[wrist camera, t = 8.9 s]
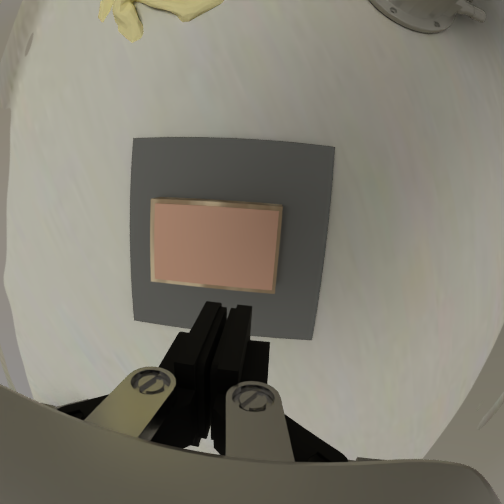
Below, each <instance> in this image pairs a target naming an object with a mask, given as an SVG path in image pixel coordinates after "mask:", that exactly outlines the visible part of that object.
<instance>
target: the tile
mask: <svg viewBox="0 0 504 504" xmlns="http://www.w3.org/2000/svg"><path fill="white" fill-rule="evenodd" d="M282 210H283V206H282V204H270V203H257V202H244V201H229V200H213V199H195V198H174V197H157V198H152V199H151V212H150V266H151V281H152V282H160V283H169V284H178V285H187V286H196V287H205V288H215V289H225V290H236V291H246V292H258V293H269V294H275V287H276V277H277V266H278V256H279V245H280V234H281V222H282Z"/></svg>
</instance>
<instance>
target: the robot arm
mask: <svg viewBox="0 0 504 504" xmlns="http://www.w3.org/2000/svg"><path fill="white" fill-rule="evenodd" d="M466 1H468V2H472V1H473V0H466ZM466 1H465V0H370V2H371V3H372V4H373V5H374V6H375V7H376V8H377V9H378V10H380V11H381V12H382V13H383V14H384V15H386V16H387V17H389V18H390V19H392V20H393V21H395V22H397V23H398V24H400V25H402V26H404V27H407V28H409V29H412V30H414V31H419V32H423V33H439V32H441V31H444V30H445V29H447V28H448V27H449V26H450V25H451V24H452V23H453V22H454V19H455V14H456V13H457V14H460V15H463V14H466V15H468V16H469V17H470V18H472V19H474V20H476V21H478V22H481V23H483V22H484V21H485V19H486V13H485V12H484V11H483V10H481V9H479V8H477V7H476V6H474V5H470V4H468V3H466ZM251 319H252V306H248V305H238V304H237V307H236V308H231V309H230V312H229V315H228V318H227V307H222V303H219V302H210V301H206V303H205V304H204V306H203V308H202V310H201V312H200V314H199V315H198V317H197V319H196V321H195V323H194V325H193V327H192V328H191V330H190V332H189V333H186V332H179V333H178V335H177V337H176V338H175V340H174V342H173V343H172V345H171V347H170V348H169V350H168V352H167V354H166V355H165V357H164V359H163V360H162V362H161V364H160V365H159V367H143V368H139V369H137V370H134V371H133V372H132V373H130V374H129V375H128V376H127V377H126V378H125V379H124V380H123V381H122V382H121V383H120V384H119V385H118V386H117V387H116V388H115V389H114V390H113V391H112V392H111V393H110V394H109V395H105V396H101V397H97V398H93V399H89V400H85V401H81V402H77V403H73V404H69V405H65V406H62V407H60V408H58V409H56V407H55V406H53V405H48V404H43V403H39V402H37V401H35V400H33V399H31V398H28V397H26V396H24V395H22V394H20V393H18V392H16V391H14V390H11V389H9V388H7V387H5V386H3V385H1V384H0V504H501V502H500V500H499V498H498V497H497V495H496V493H495V492H494V490H493V489H492V487H491V486H490V484H489V483H488V481H487V480H486V479H485V478H484V477H483V476H482V475H481V474H480V473H479V472H478V471H477V470H475V469H473V468H471V467H469V466H466V465H463V464H460V463H455V462H448V461H441V460H427V459H395V460H380V459H369V458H360V457H357V459H356V461H354V460H347V458H346V457H345V456H344V455H343V454H342V453H341V452H339V451H338V450H336V449H335V448H333V447H332V446H330V445H329V444H327V443H326V442H324V441H323V440H321V439H320V438H318V437H317V436H315V435H314V434H312V433H311V432H309V431H308V430H306V429H305V428H303V427H302V426H301V425H299V424H298V423H296V422H295V421H293V420H292V419H291V418H289V417H288V416H286V415H285V414H284V410H283V406H282V401H281V397H280V395H279V393H278V391H277V390H276V389H274V388H273V387H272V386H270V385H268V384H267V379H268V364H269V348H270V342H263V341H252V340H250V332H251ZM210 425H211V440H214V448H215V449H216V450H217V451H218V452H219V454H220V455H217V454H210V453H204V452H198V451H193V450H188V449H183V448H185V447H188V446H190V445H192V446H197V447H199V443H200V440H201V438H204V439H207V436H208V433H209V429H210Z"/></svg>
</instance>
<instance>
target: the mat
mask: <svg viewBox="0 0 504 504" xmlns="http://www.w3.org/2000/svg"><path fill="white" fill-rule="evenodd" d="M334 153H335V147H330V146H322V145H314V144H305V143H294V142H283V141H271V140H256V139H238V138H209V137H160V138H133V150H132V166H131V189H130V258H131V282H132V298H133V311H134V320H136V321H142V322H148V323H154V324H160V325H167V326H174V327H181V328H188V329H191V328H192V327H193V325H194V323H195V321H196V319H197V317H198V315H199V314H200V312H201V310H202V308H203V306H204V304H205V303H206V301H210V302H219V303H222V307H227V318H228V315H229V312H230V309H231V308H236V307H237V304H238V305H248V306H252V319H251V332H250V336H261V337H273V338H286V339H301V340H312V336H313V330H314V324H315V318H316V312H317V305H318V299H319V292H320V285H321V278H322V271H323V263H324V256H325V248H326V239H327V231H328V221H329V212H330V202H331V191H332V180H333V167H334ZM157 197H174V198H195V199H213V200H229V201H244V202H257V203H270V204H282V206H283V210H282V222H281V234H280V245H279V256H278V266H277V277H276V287H275V294H269V293H258V292H246V291H236V290H225V289H215V288H205V287H196V286H187V285H178V284H169V283H160V282H152V281H151V266H150V212H151V199H152V198H157Z"/></svg>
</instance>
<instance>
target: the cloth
mask: <svg viewBox="0 0 504 504" xmlns="http://www.w3.org/2000/svg"><path fill="white" fill-rule="evenodd" d="M134 1H136V2H141V3H144V4H147V5H148V6H150V7H153V8H157V9H163V10H167V11H170V12H172V13H174V14H175V15H177V16H178V18H179V20H181V21H182V22H188V21H190V20H192V19H194V18H195V17H197V16H199V15H201V14H203V13H205V12H207V11H209V10H210V9H212V8H214V7H216V6H217V5H219V4H221V3H222V2H223V1H224V0H115V1H114V0H102V1H101V3H100V10H99V15H98V18H99V19H100V20H101V22H104V20H105V18H106V16H107V15H108V13H109V12H110V10H111V7H112V5H113V9H112V10H113V15H114V18H115V22H116V23H117V25H118V30H119V32H120V33H121V34H122V35H123V36H124V37H125V38H126V39H128V40H129V41H130V42H132V43H133V42H135V41H137V40H139V39H140V38H141V37H142V35H143V25H142V23H141V21H140V20H139V18H138V15H137V12H136V9H135V7H134V5H133V4H132V2H134Z"/></svg>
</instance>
